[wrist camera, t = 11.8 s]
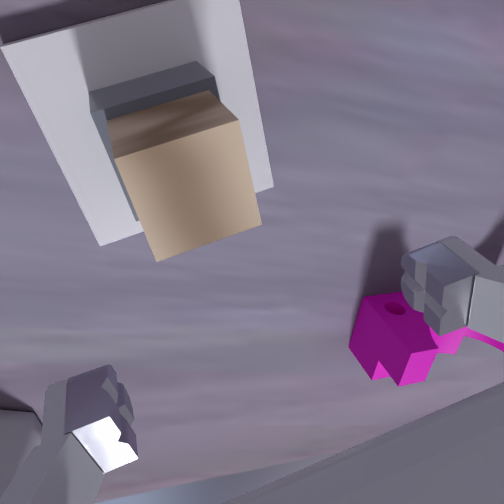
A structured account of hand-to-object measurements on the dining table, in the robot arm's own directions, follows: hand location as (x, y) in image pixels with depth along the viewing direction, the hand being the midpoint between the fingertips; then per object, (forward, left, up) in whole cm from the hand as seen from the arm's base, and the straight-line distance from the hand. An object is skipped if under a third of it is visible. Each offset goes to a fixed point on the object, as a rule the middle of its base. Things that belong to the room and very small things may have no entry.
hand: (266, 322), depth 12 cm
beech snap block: (0, 0, -13) cm, 13 cm away
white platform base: (0, 0, -18) cm, 18 cm away
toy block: (-19, +26, -19) cm, 37 cm away
